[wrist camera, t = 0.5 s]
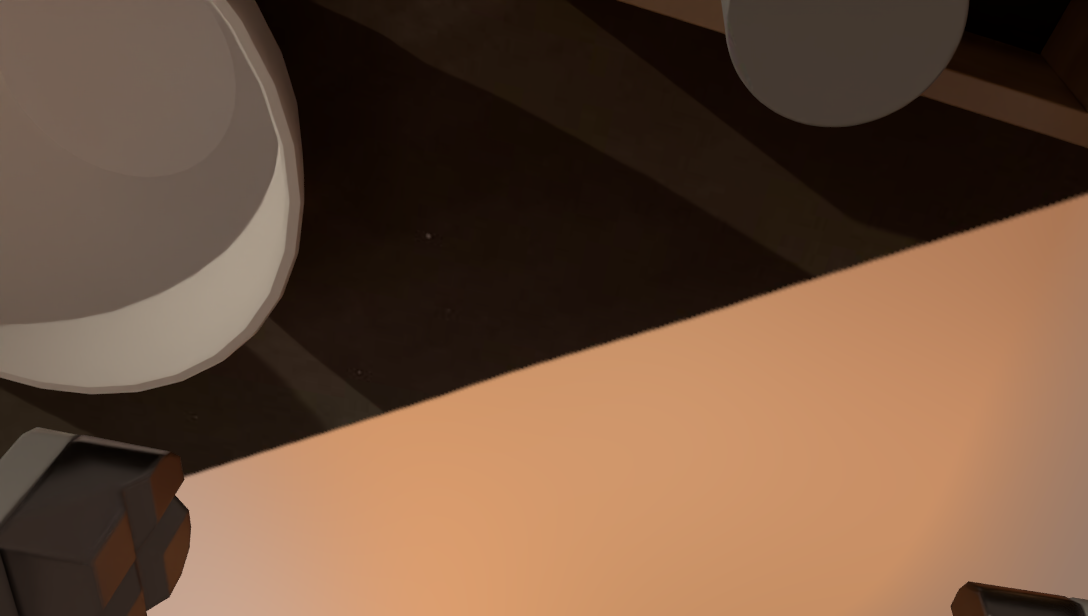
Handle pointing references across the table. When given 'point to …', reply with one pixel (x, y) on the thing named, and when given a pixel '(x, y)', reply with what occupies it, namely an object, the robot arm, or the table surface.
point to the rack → (984, 71)
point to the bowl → (141, 188)
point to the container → (841, 54)
